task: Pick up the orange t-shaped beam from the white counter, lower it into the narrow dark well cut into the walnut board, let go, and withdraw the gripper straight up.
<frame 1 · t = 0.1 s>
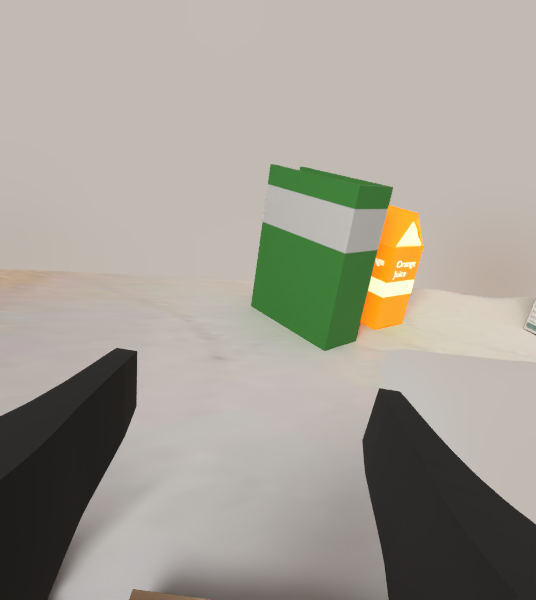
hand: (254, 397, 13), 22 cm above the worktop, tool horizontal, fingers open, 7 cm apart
orange juice: (369, 317, 79), on the worktop
hardback book: (300, 323, 72), on the worktop
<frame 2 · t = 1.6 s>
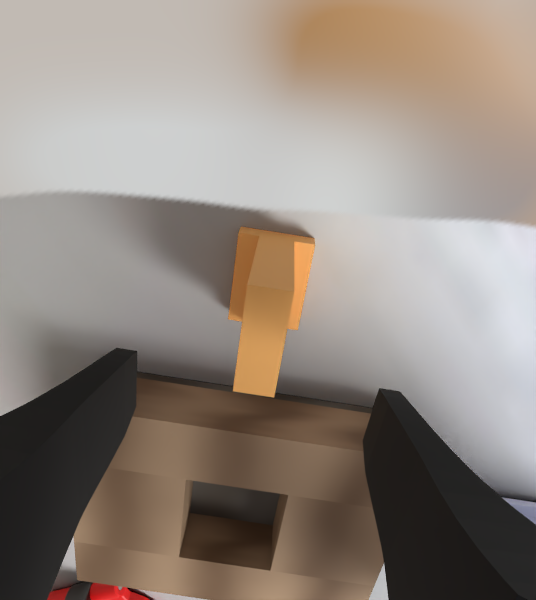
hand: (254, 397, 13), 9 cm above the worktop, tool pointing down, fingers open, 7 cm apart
well board: (238, 477, 27), on the worktop
orange t-shaped beam: (270, 275, 21), on the worktop
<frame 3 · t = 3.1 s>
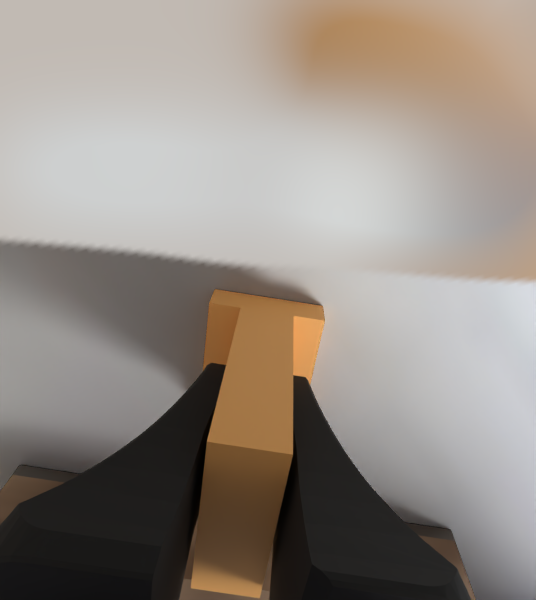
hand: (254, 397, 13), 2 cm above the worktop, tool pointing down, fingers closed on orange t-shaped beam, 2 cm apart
well board: (220, 597, 21), on the worktop
orange t-shaped beam: (259, 356, 15), on the worktop, touching gripper
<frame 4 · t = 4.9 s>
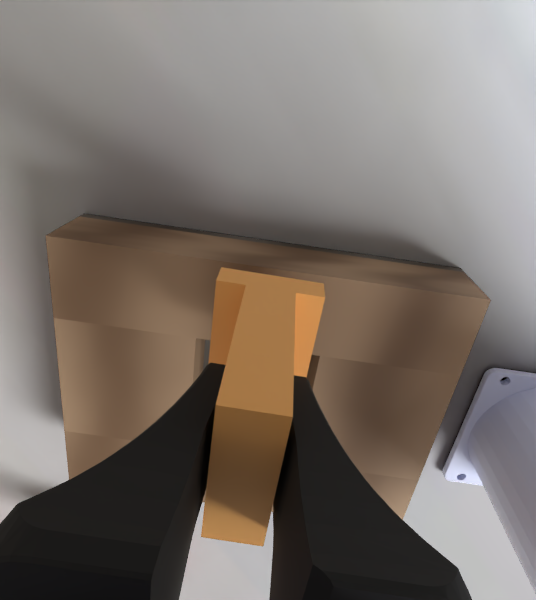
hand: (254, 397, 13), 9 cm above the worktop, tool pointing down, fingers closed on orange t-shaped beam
well board: (255, 363, 23), on the worktop
orange t-shaped beam: (263, 330, 16), point 6 cm above the worktop, touching gripper
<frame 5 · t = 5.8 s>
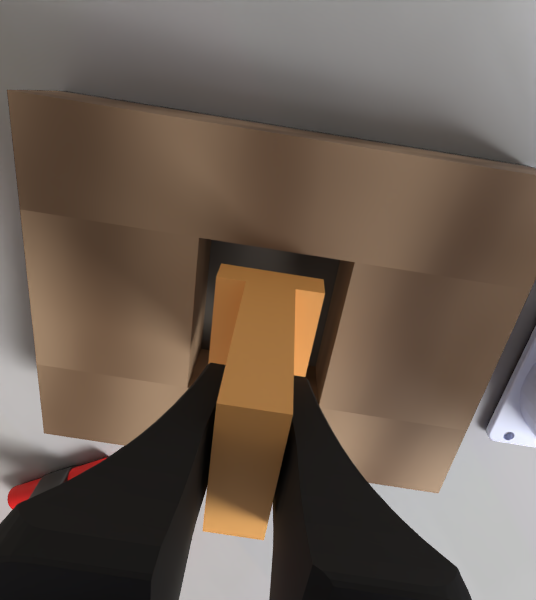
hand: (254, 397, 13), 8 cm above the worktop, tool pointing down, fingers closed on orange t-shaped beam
tow hook: (105, 512, 27), on the worktop
well board: (269, 292, 20), on the worktop
orange t-shaped beam: (263, 326, 16), point 4 cm above the worktop, touching gripper
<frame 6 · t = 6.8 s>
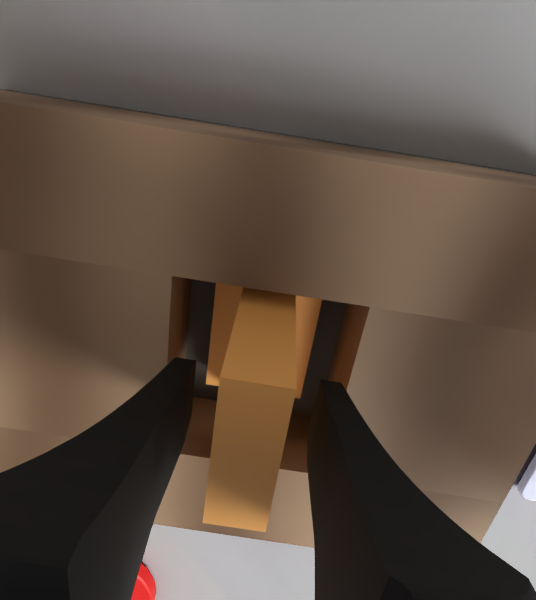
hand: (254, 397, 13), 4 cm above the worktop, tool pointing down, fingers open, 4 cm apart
tow hook: (79, 567, 24), on the worktop
well board: (263, 330, 16), on the worktop
orange t-shaped beam: (263, 325, 16), resting on well board
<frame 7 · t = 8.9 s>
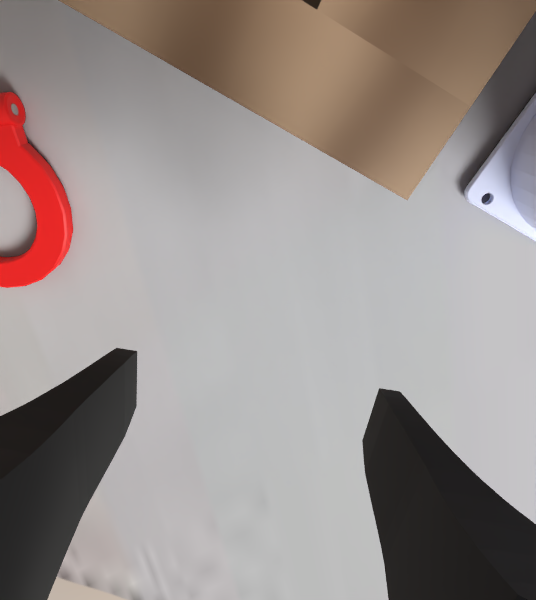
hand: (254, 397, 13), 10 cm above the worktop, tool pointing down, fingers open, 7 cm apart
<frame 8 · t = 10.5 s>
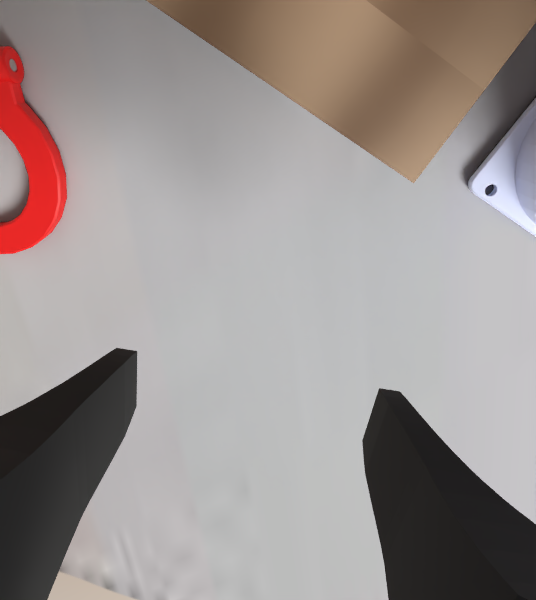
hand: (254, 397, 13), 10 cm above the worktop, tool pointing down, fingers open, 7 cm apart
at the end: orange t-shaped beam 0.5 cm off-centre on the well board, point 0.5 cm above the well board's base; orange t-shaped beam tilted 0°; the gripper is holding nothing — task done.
